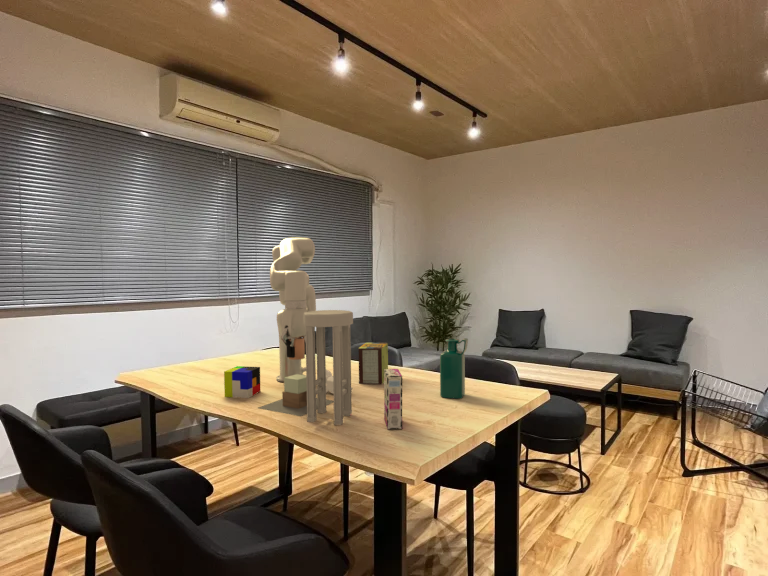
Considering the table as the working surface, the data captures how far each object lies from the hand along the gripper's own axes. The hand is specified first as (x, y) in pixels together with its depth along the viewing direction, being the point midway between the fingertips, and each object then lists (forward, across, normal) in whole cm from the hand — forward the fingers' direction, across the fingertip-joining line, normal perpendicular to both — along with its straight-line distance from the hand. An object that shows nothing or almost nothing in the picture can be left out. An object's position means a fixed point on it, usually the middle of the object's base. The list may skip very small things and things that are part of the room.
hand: (296, 355), depth 165 cm
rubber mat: (+18, 0, 0) cm, 18 cm away
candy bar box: (+19, +1, +40) cm, 44 cm away
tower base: (+18, 0, 0) cm, 18 cm away
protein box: (+18, -46, +4) cm, 50 cm away
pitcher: (+18, -38, +45) cm, 62 cm away
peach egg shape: (+1, 0, 0) cm, 1 cm away
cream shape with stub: (+18, -20, +1) cm, 27 cm away
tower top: (+13, 0, 0) cm, 13 cm away
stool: (+18, +6, +19) cm, 27 cm away
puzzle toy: (+18, -2, -30) cm, 35 cm away
